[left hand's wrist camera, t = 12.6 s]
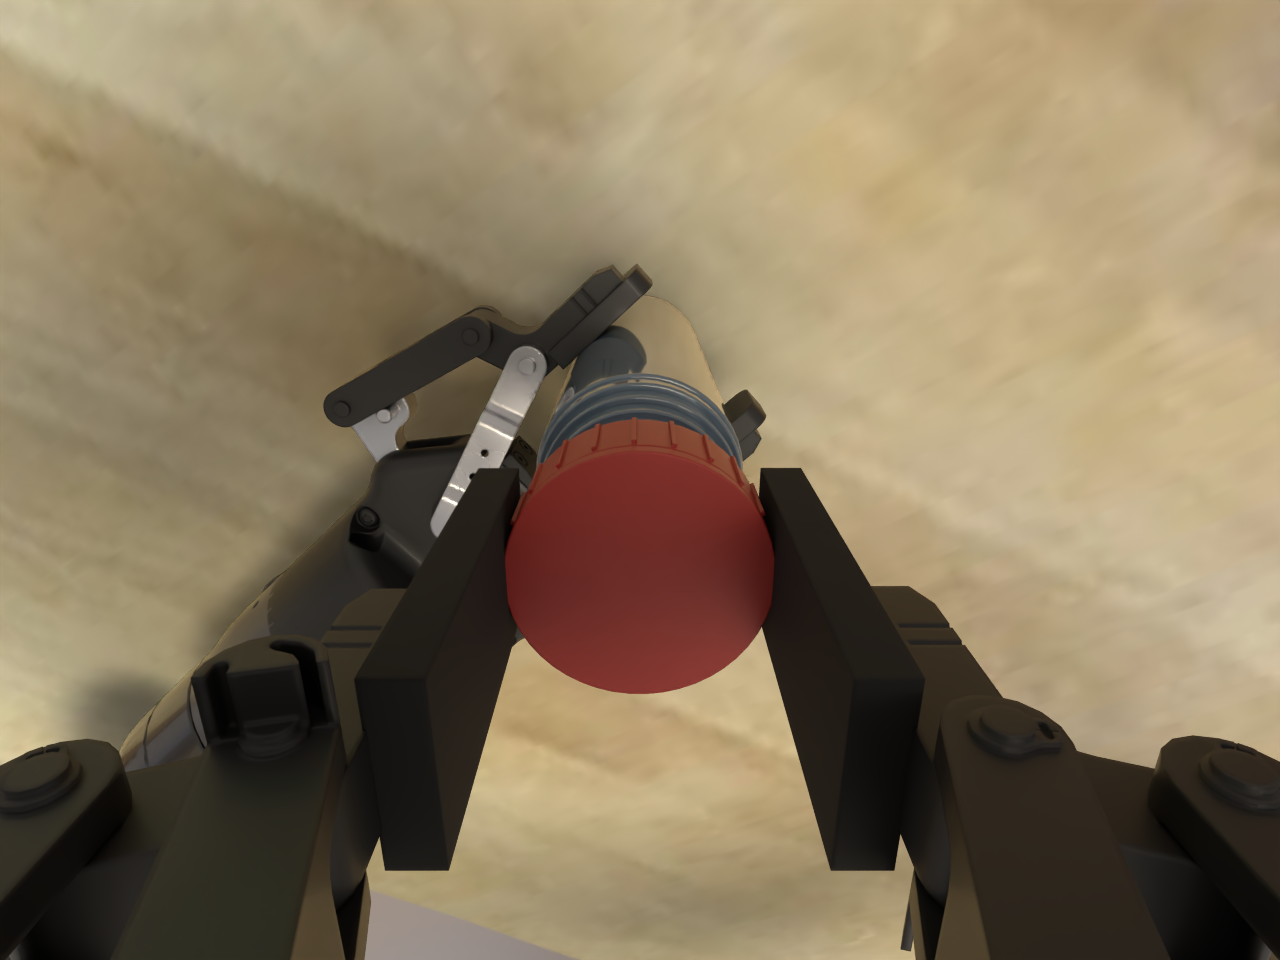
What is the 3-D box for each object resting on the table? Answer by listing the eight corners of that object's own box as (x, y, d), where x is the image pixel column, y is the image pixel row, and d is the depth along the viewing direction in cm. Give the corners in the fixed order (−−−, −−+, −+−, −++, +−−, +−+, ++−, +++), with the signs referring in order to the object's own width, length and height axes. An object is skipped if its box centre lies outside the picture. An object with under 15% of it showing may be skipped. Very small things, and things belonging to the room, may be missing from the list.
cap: (777, 619, 15) (795, 674, 13) (547, 655, 15) (535, 715, 14) (746, 395, 13) (761, 424, 12) (488, 441, 14) (466, 476, 12)
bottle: (647, 434, 32) (657, 727, 14) (557, 363, 31) (446, 586, 13) (722, 346, 30) (836, 550, 13) (630, 269, 29) (617, 377, 12)
